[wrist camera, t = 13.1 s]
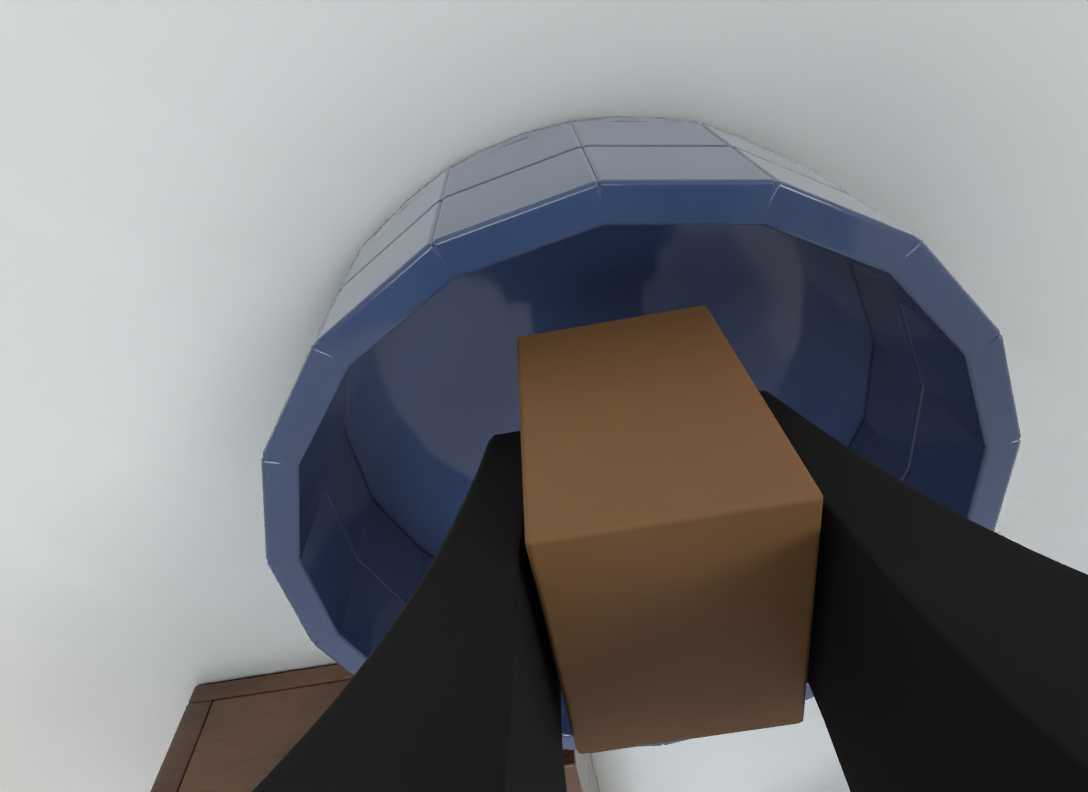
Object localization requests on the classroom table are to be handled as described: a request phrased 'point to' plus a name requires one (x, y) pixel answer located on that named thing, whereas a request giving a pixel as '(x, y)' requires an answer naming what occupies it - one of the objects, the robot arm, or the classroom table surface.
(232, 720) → the holder
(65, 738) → the classroom table surface
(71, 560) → the classroom table surface
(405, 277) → the bowl
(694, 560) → the kraft packet
